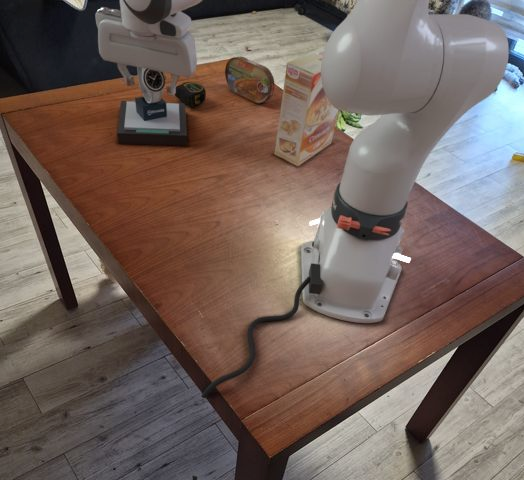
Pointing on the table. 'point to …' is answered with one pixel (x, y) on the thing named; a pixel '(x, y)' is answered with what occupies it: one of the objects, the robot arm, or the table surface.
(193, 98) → the tape measure
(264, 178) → the table surface
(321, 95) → the coffeecake box
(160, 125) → the scale
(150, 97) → the watch
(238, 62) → the tin
